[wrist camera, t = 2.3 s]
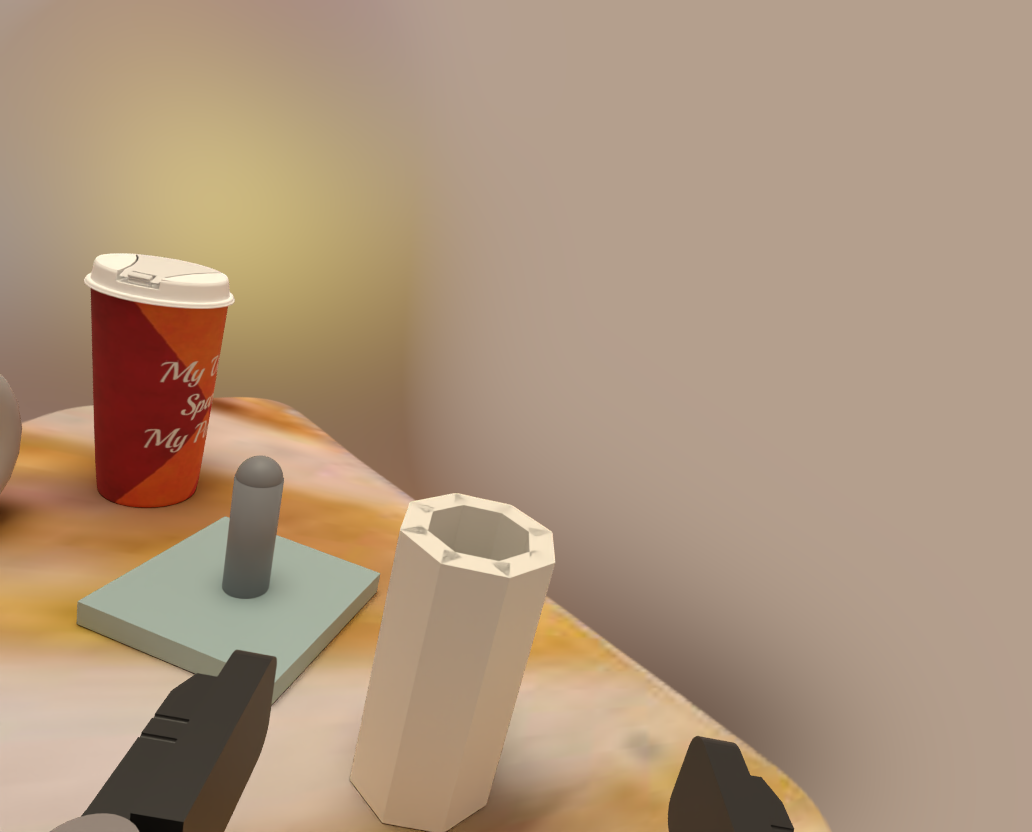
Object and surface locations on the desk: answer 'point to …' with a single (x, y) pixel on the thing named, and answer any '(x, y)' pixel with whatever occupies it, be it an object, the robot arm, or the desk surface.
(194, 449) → the paper cup
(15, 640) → the desk surface
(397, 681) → the white octagonal tube
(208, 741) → the robot arm
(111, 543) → the desk surface
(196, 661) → the peg stand
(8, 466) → the donut
